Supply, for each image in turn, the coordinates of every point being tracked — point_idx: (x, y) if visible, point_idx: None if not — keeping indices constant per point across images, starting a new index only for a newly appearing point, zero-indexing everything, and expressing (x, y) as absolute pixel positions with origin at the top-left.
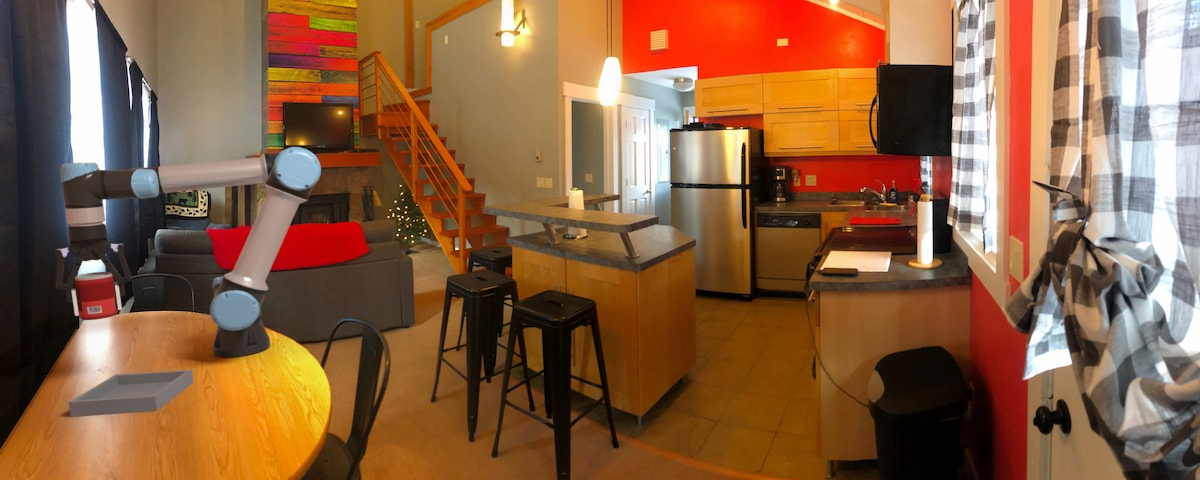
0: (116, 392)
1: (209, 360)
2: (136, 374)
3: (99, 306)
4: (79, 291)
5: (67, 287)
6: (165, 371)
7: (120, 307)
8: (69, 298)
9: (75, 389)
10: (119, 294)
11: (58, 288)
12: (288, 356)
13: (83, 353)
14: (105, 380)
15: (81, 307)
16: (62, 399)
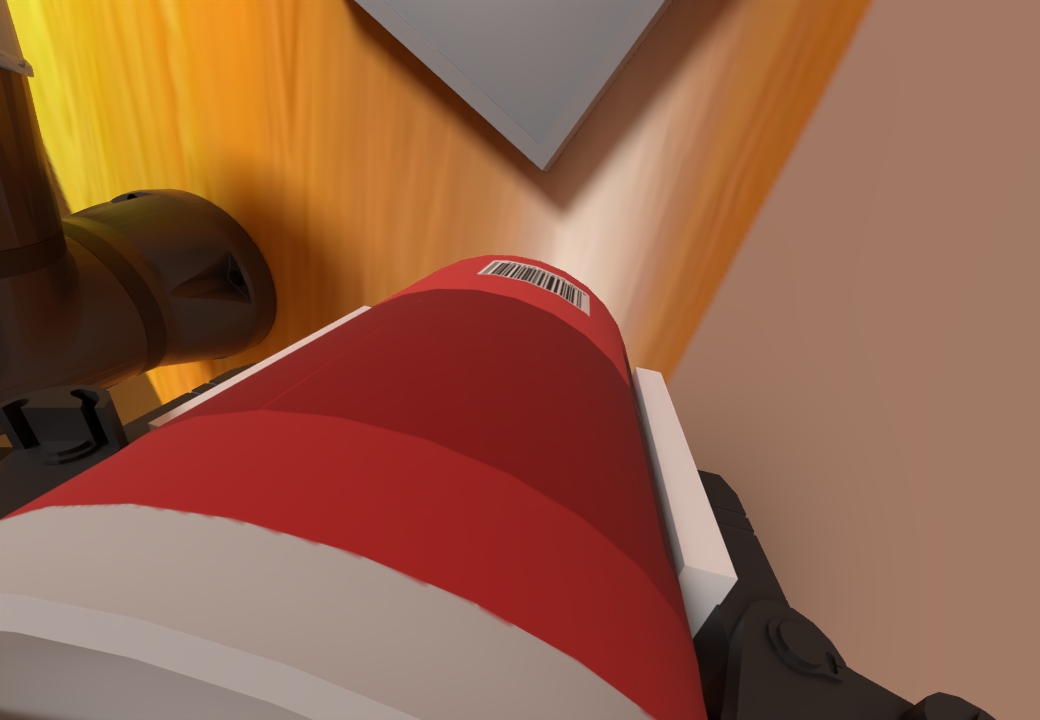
0: (571, 37)
1: (286, 243)
2: (483, 93)
3: (491, 272)
4: (651, 484)
5: (817, 670)
6: (388, 30)
7: (360, 312)
8: (719, 511)
9: (641, 272)
10: (269, 360)
11: (964, 714)
12: (48, 49)
13: None
14: (587, 106)
15: (626, 365)
16: (704, 186)
